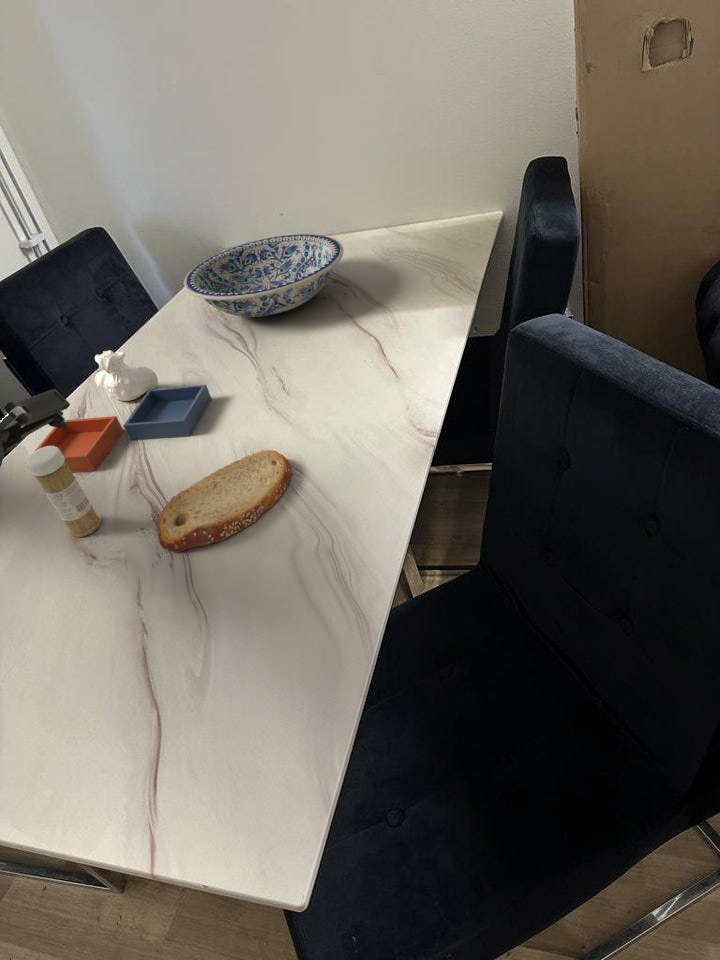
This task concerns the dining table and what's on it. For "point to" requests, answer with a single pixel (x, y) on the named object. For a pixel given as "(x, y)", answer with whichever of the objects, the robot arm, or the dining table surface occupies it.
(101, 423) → the terracotta tray
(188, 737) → the dining table surface
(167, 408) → the slate tray
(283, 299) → the ceramic bowl
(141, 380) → the white animal figurine
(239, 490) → the slice of bread
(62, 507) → the sprinkles bottle
